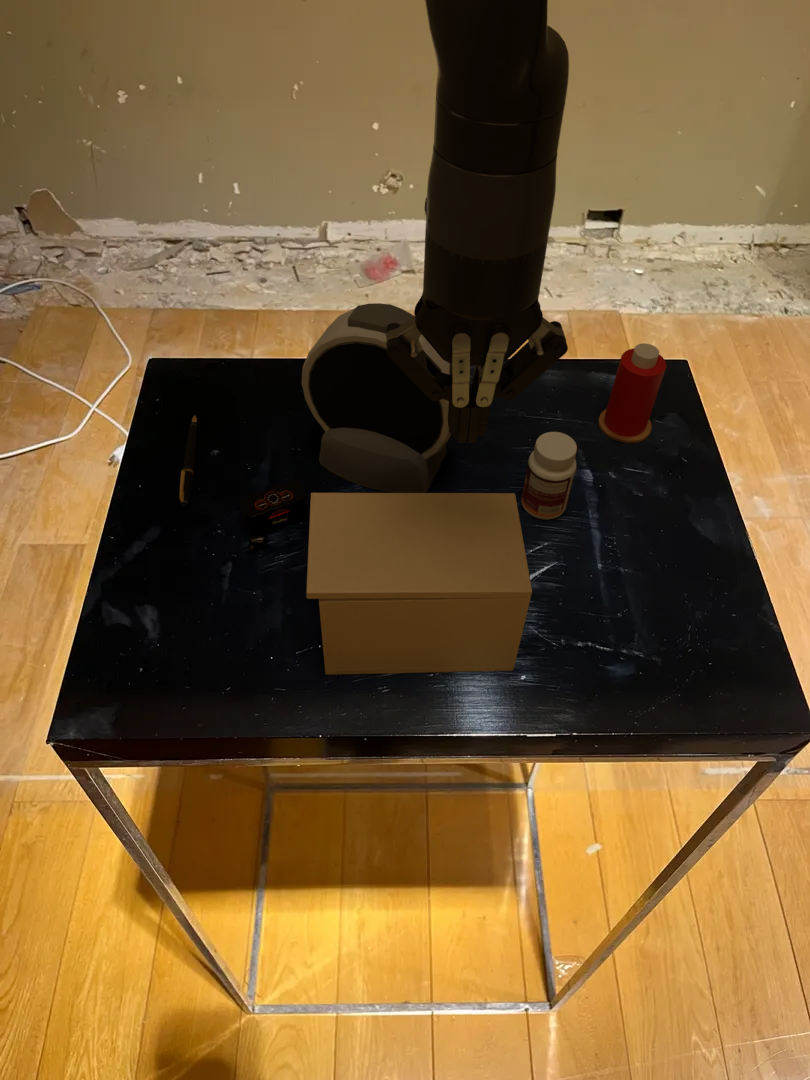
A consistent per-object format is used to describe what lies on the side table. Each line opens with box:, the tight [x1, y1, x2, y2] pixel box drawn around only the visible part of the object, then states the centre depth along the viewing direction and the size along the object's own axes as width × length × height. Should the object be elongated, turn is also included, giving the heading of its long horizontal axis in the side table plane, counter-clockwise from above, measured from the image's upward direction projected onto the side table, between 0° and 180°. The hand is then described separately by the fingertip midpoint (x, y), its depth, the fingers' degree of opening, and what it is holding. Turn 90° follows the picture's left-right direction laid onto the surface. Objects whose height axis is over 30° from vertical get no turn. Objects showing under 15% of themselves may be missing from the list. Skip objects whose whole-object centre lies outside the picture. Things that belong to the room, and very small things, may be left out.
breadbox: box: [318, 596, 532, 676], centre depth 72 cm, size 17×11×11 cm, turn 92°
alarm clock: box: [301, 302, 452, 493], centre depth 83 cm, size 16×10×18 cm, turn 69°
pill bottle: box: [521, 431, 578, 520], centre depth 83 cm, size 5×5×8 cm
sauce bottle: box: [604, 342, 667, 437], centre depth 91 cm, size 5×5×10 cm
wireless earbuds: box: [238, 480, 309, 553], centre depth 82 cm, size 5×7×3 cm, turn 118°
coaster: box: [597, 408, 653, 444], centre depth 94 cm, size 6×6×1 cm
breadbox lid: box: [305, 492, 533, 600], centre depth 67 cm, size 18×11×1 cm, turn 92°
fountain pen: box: [179, 414, 198, 509], centre depth 88 cm, size 14×1×2 cm, turn 5°
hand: (466, 435), depth 63 cm, fingers closed
